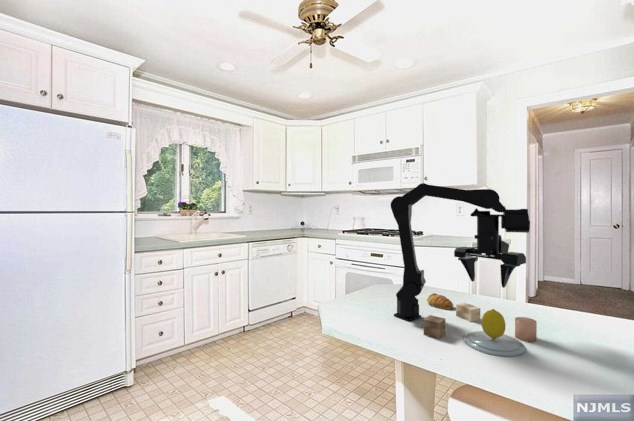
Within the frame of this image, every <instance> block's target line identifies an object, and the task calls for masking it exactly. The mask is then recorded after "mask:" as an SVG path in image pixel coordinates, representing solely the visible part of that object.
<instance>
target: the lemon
mask: <svg viewBox="0 0 634 421" xmlns="http://www.w3.org/2000/svg"><path fill="white" fill-rule="evenodd" d="M481 328H482V331H484V332H485V333H486V334H487V335H488V336H490V337H491V338H492V339H496V338H498V337H501V336H502V335H503V334H505V333H506V332H505V331H506V320H505V318H504V316H503V315H502V313H501V312H499V311H497V310H496V309H494V308H492V309H491V310H490V309H489V310H486V311H485V312H484V313H483V315H482V318H481Z"/></svg>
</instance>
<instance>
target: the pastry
mask: <svg viewBox="0 0 634 421" xmlns="http://www.w3.org/2000/svg"><path fill="white" fill-rule="evenodd" d="M426 301H427V303H428V304H429V306H431V307H435V308H437V309H441V310H450V309H453V307H454V303H453V302H452V301H451V300H450V299H449V298H447V297H446V296H445V295H443V294H438V293H435V292H434V293H433V292H432V293H431V294H430V295H428V297H427V299H426Z"/></svg>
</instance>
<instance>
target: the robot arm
mask: <svg viewBox="0 0 634 421" xmlns="http://www.w3.org/2000/svg"><path fill="white" fill-rule="evenodd" d="M424 197H432V198H439V199H446V200H451V201H459V202H464V203H466V204H470V205H473V206H476V207H479V208H482V209H486V210H479V209H478V208H475V209H474V210H473V211H472V212H471V213H470V217H476V234H474V239H476V248H475V247H471V246H469V247H468V246H461V247H459V246H458V247H455V249H454V252H453V253H454V254H453V257H455V258H457V260H458V261H460V262H461V264H462V265H463V268H464V269H465V271H466V273H467V275H468V277H469V278H470V281H471V282H475V280H476V279H475V278H476V270H475V269H476V267H475V264H476V260H477V258H481V259H488V260H489V259H491V260H498V261H501V262H502V263H501V264H500V265H499V266H500V283H501V287H502V288H507V287H506V286H507V284H508V282H509V279H510V278H511V277H510V276H511V274H512V273H513V271H514V269H515V268H516V267H520V266H521V265H525V264H526V263H527V256H526V254H525V253H522V252H516V251H509V249H510V244H509V243H508V242H505V240H504V241H503V240H502V235H501V234H500V232H499V231H500V228H501V229H504V231H505V233H530V229H531V228H530V227H531V221H530V218H529V217H530V216H529V209H527V208H518V209H507V208H506V206H505V205H503V204H502V202H501V201H500V195H499V194H498V192H497V191H496V190H494V189H491V188H490V189H489V188H485V189H484V188H482V189H481V188H480V189H478V188H476V189H464V188H463V189H461V188H455V187H448V186H447V187H446V186H439V185H433V184H428V183H424V182H423V183H420V184H419V183H418V184H417V186H416V187H414V188H412V189H411V190H409V191H407V192H406V193H404V194H403V195H402V196H396V197H394V198H393V199H392V200H391V201H390V210H391V211H392V215H393V218H394V220H395V222H396V224H397V228H398V234H399V241H400V248H401V254H402V260H403V267H404V268H403V277H402V286H401V287H400V288H399V289H398V291H397V292H396V294H395V296H396V313H393V316H394V317H397V318H399V319H402V320H404V321H408V322H410V321H414V320H417V319H420V318H422V315H421V314H420V304H419V299H418V298H417V296H419V295H420V294H421V292H422V291H423V289H424V287H425V283H426V282H427V281H426V278H425V269H420V268H419V266H418V263H417V256H416V251H415V250H416V249H415V244H414V237H413V236H414V235H413V230H412V213H413V212H412V211H413V210H412V209H413V205H416V203H418V202H419V201H420V200H422V199H423V198H424ZM490 210H493V211H495V212H497V213H502V214H491V211H490ZM499 220H500V221H499ZM499 224H500V225H499ZM499 227H500V228H499Z"/></svg>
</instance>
